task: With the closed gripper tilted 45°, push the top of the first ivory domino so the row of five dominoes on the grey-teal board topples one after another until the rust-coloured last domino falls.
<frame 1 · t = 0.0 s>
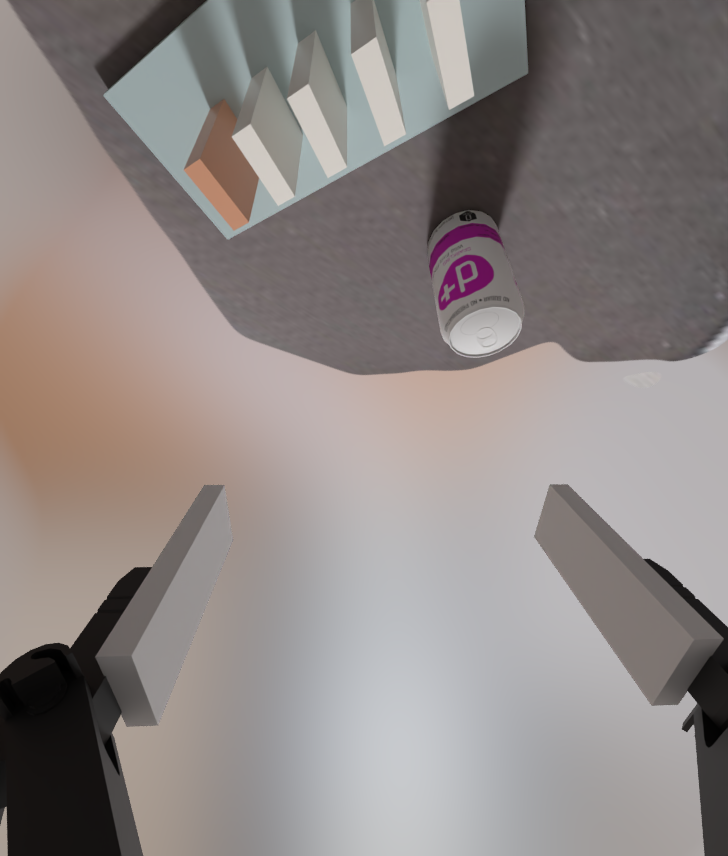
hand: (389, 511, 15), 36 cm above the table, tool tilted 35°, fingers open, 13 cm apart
supplement can: (460, 240, 43), on the table
domino 1: (432, 3, 25), point 1 cm above the table, touching domino board
domino board: (314, 78, 30), on the table
domino 5: (238, 136, 32), point 1 cm above the table, touching domino board
domino 2: (374, 42, 27), point 1 cm above the table, touching domino board
domino 3: (324, 77, 29), point 1 cm above the table, touching domino board
domino 4: (278, 108, 30), point 1 cm above the table, touching domino board
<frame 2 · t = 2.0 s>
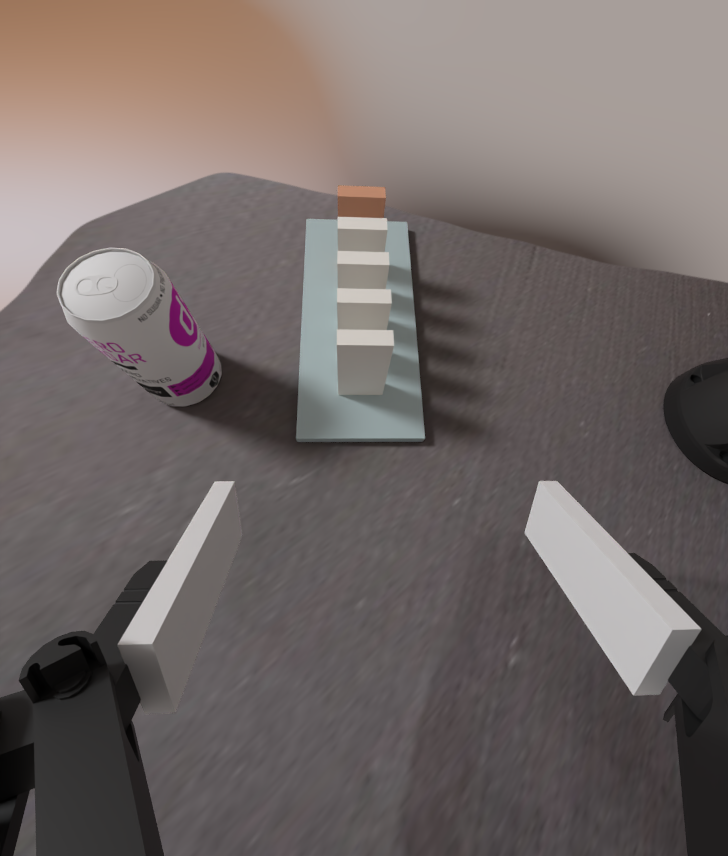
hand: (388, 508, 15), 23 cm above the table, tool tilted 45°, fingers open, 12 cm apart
supplement can: (188, 377, 41), on the table
domino 1: (360, 388, 40), point 1 cm above the table, touching domino board
domino board: (358, 321, 45), on the table
domino 5: (358, 265, 47), point 1 cm above the table, touching domino board
domino 2: (359, 354, 42), point 1 cm above the table, touching domino board
domino 3: (359, 322, 43), point 1 cm above the table, touching domino board
domino 4: (358, 292, 45), point 1 cm above the table, touching domino board
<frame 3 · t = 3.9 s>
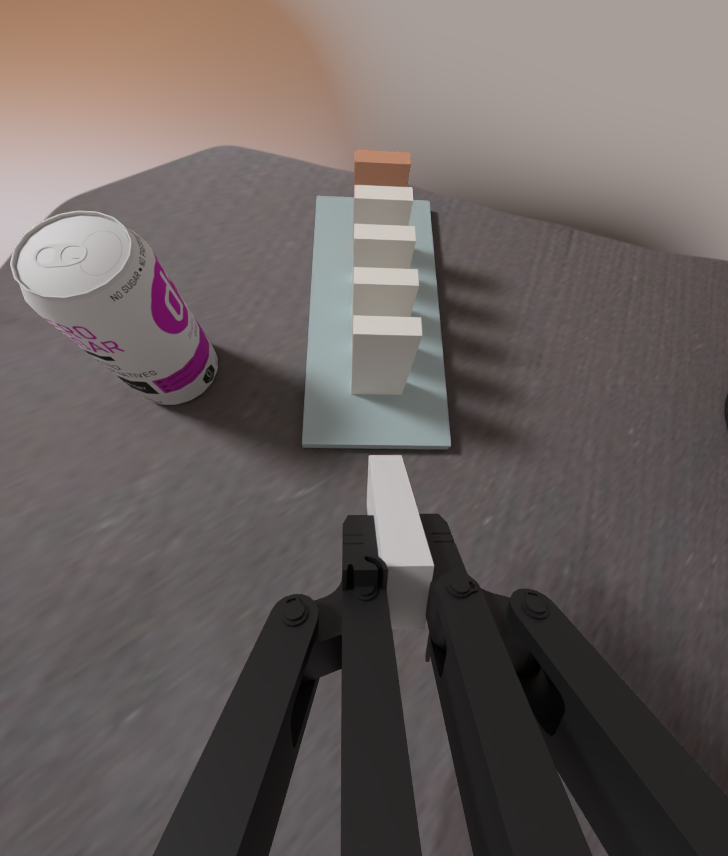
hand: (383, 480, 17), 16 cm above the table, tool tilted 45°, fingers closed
supplement can: (180, 371, 36), on the table
domino 1: (376, 387, 35), point 1 cm above the table, touching domino board
domino board: (374, 311, 40), on the table
domino 5: (374, 247, 41), point 1 cm above the table, touching domino board
domino 2: (375, 347, 37), point 1 cm above the table, touching domino board
domino 3: (375, 311, 38), point 1 cm above the table, touching domino board
domino 4: (374, 278, 40), point 1 cm above the table, touching domino board
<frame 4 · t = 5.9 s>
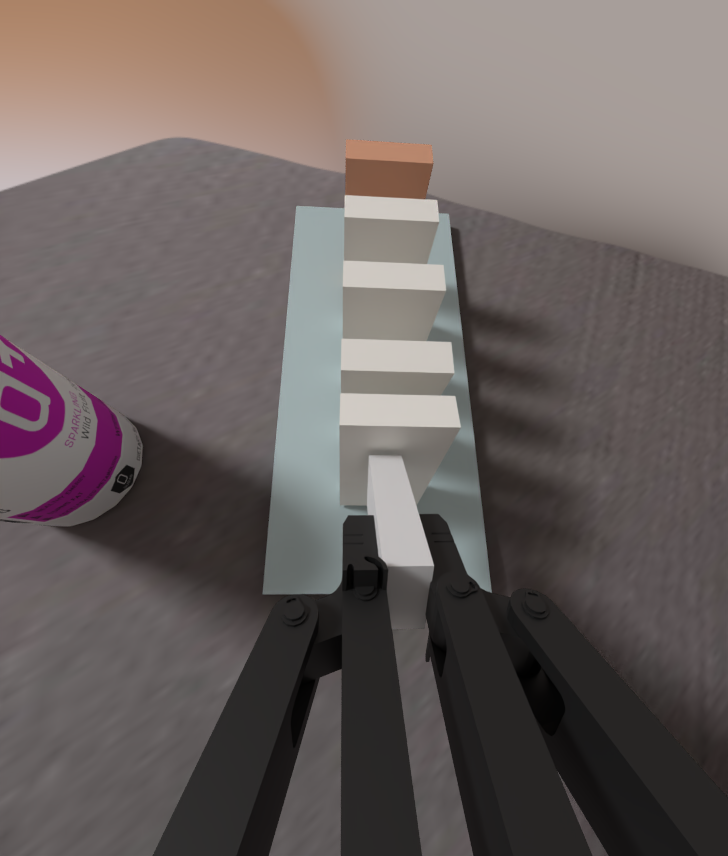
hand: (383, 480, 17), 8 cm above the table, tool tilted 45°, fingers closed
supplement can: (87, 466, 24), on the table
domino 1: (377, 493, 23), point 1 cm above the table, tilted 11°, touching domino board
domino board: (374, 370, 28), on the table
domino 5: (374, 279, 30), point 1 cm above the table, touching domino board
domino 2: (376, 430, 25), point 1 cm above the table, touching domino board
domino 3: (375, 374, 27), point 1 cm above the table, touching domino board
domino 4: (375, 324, 28), point 1 cm above the table, touching domino board
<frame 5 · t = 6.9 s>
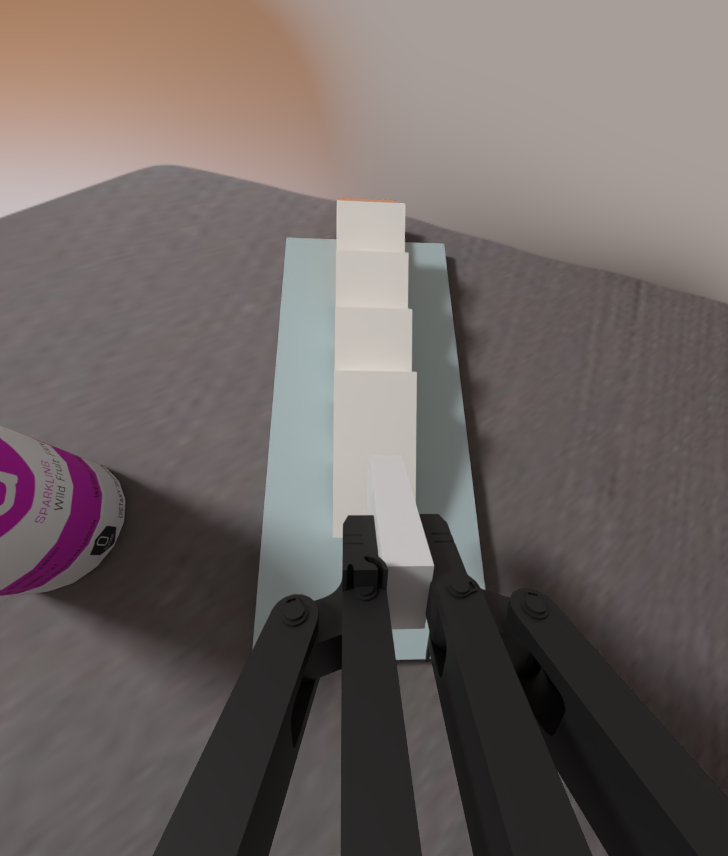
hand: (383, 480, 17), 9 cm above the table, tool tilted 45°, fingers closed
supplement can: (67, 522, 23), on the table
domino 1: (373, 533, 22), point 2 cm above the table, tilted 69°, touching domino 2, domino board
domino board: (368, 412, 27), on the table
domino 2: (371, 461, 24), point 2 cm above the table, tilted 69°, touching domino 1, domino 3, domino board
domino 3: (370, 397, 25), point 2 cm above the table, tilted 69°, touching domino 2, domino 4, domino board
domino 4: (369, 342, 27), point 2 cm above the table, tilted 69°, touching domino 3, domino 5
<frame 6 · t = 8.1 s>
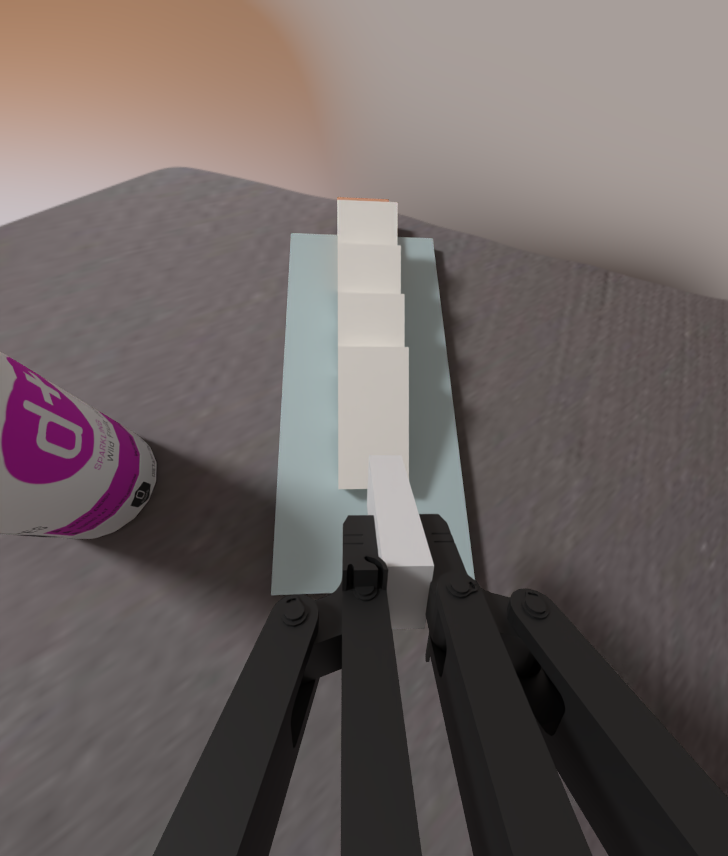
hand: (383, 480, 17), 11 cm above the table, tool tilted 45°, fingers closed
supplement can: (105, 483, 27), on the table
domino 1: (372, 486, 26), point 2 cm above the table, tilted 69°, touching domino 2, domino board
domino board: (366, 387, 31), on the table
domino 2: (370, 427, 27), point 2 cm above the table, tilted 69°, touching domino 1, domino 3, domino board
domino 3: (368, 373, 29), point 2 cm above the table, tilted 69°, touching domino 2, domino 4, domino board
domino 4: (366, 325, 30), point 2 cm above the table, tilted 69°, touching domino 3, domino 5
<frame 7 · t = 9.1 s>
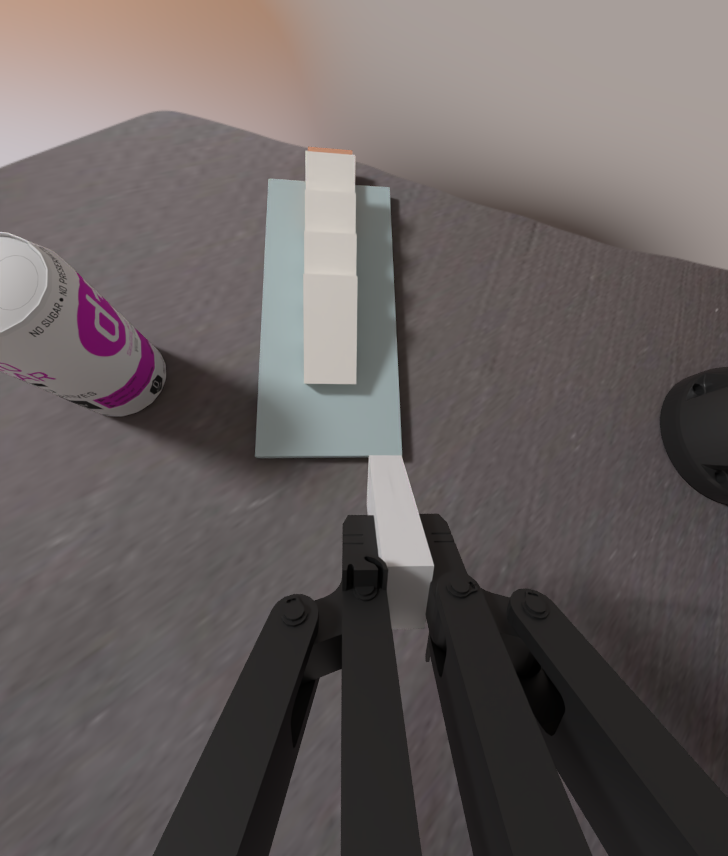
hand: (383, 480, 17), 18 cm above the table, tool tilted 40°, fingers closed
supplement can: (126, 379, 35), on the table
domino 1: (330, 383, 35), point 2 cm above the table, tilted 69°, touching domino 2, domino board
domino board: (330, 312, 39), on the table
domino 2: (330, 340, 36), point 2 cm above the table, tilted 69°, touching domino 1, domino 3, domino board
domino 3: (330, 299, 37), point 2 cm above the table, tilted 69°, touching domino 2, domino 4, domino board
domino 4: (330, 260, 38), point 2 cm above the table, tilted 69°, touching domino 3, domino 5
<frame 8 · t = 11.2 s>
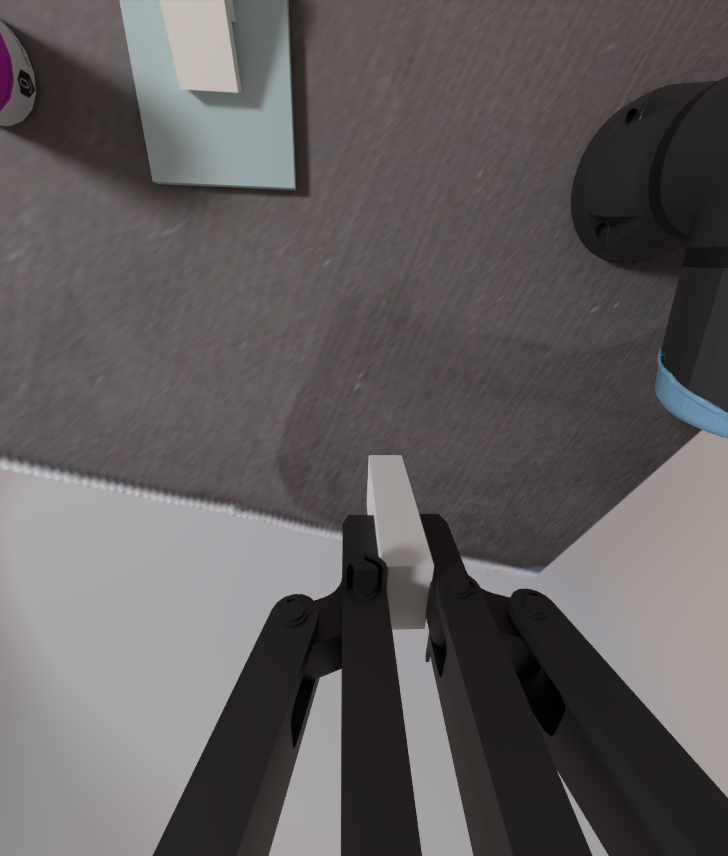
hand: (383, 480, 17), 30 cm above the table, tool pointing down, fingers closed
domino 1: (211, 90, 32), point 2 cm above the table, tilted 69°, touching domino 2, domino board
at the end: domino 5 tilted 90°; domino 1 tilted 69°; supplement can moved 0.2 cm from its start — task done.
